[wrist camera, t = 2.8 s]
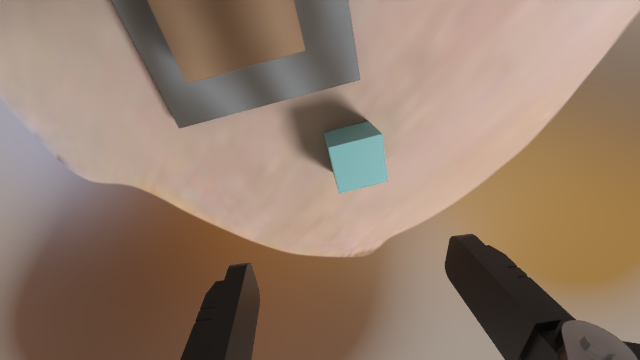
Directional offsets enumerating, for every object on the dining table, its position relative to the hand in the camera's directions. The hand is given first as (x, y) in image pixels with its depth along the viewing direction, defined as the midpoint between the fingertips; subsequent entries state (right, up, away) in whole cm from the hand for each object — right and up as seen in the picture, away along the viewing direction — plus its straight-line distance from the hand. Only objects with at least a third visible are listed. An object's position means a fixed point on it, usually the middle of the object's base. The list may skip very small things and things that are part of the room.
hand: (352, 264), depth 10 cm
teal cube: (+2, +7, +18) cm, 19 cm away
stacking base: (-8, +18, +11) cm, 23 cm away
